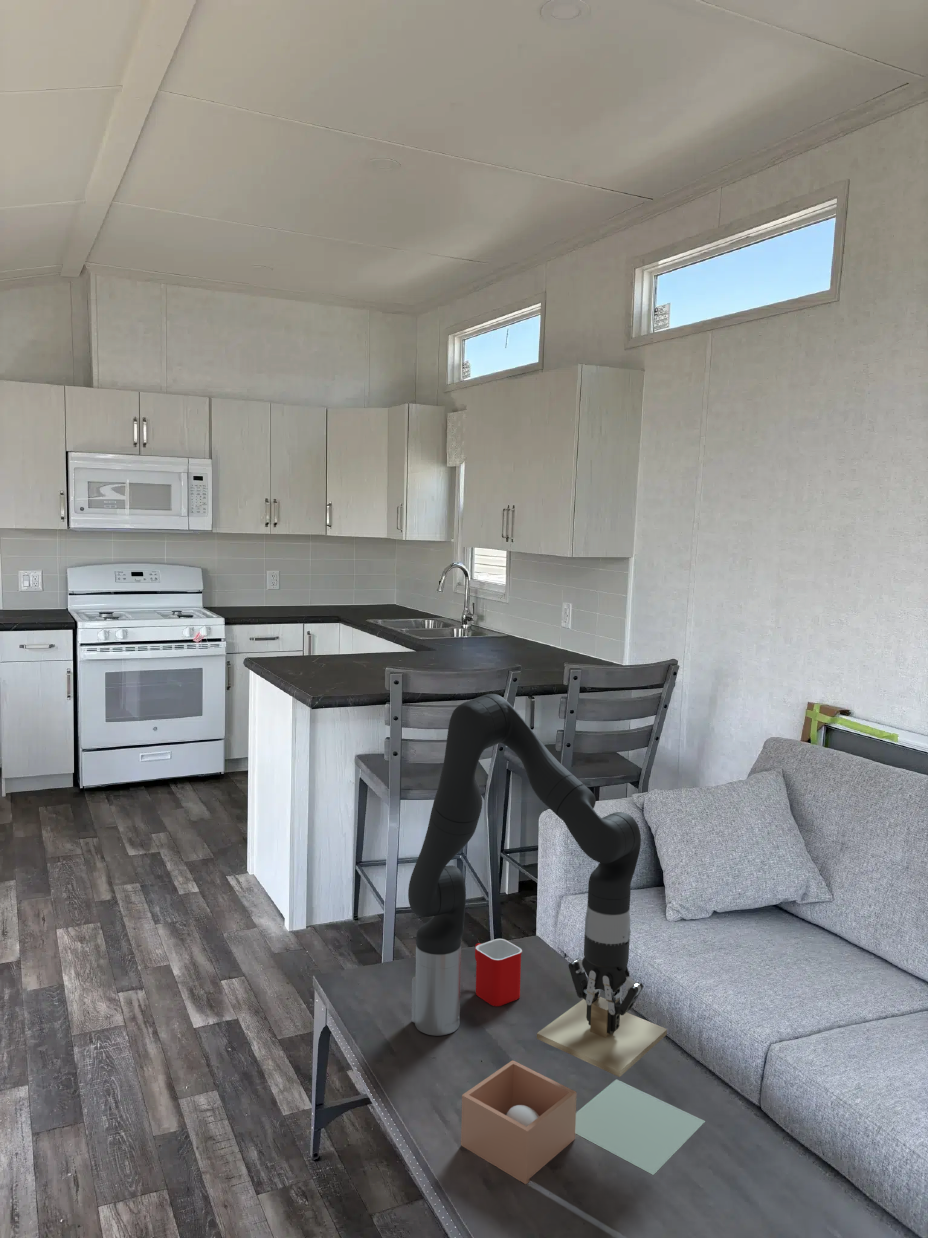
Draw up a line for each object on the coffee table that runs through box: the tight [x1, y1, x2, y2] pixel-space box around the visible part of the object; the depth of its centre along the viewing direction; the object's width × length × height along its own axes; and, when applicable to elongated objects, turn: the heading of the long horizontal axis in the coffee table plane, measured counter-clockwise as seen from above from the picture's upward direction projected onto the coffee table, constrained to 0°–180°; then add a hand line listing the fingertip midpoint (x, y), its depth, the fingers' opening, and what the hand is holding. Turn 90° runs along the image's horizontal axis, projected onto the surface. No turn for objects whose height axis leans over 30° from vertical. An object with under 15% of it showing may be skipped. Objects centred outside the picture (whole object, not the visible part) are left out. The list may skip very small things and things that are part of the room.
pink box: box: [460, 1060, 578, 1185], centre depth 156 cm, size 14×14×9 cm
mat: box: [575, 1079, 706, 1176], centre depth 162 cm, size 18×18×1 cm
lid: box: [536, 996, 668, 1078], centre depth 159 cm, size 16×16×6 cm
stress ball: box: [505, 1105, 539, 1127], centre depth 158 cm, size 8×8×7 cm
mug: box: [474, 938, 523, 1007], centre depth 206 cm, size 12×8×11 cm
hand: (602, 1027), depth 159 cm, fingers closed on lid, 3 cm apart
